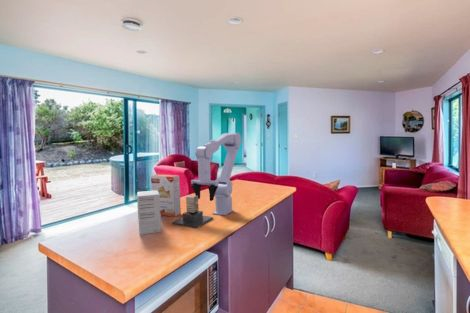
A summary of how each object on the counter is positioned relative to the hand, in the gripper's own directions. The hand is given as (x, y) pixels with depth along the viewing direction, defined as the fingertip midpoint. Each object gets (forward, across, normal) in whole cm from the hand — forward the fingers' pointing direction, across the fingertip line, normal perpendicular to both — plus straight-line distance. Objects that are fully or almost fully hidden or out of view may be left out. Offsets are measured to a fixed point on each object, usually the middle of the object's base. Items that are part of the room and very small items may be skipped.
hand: (204, 199), depth 128 cm
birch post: (+5, -5, -3) cm, 8 cm away
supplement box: (+11, -16, -20) cm, 28 cm away
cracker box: (+11, -25, +1) cm, 27 cm away
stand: (+10, -5, -3) cm, 12 cm away
